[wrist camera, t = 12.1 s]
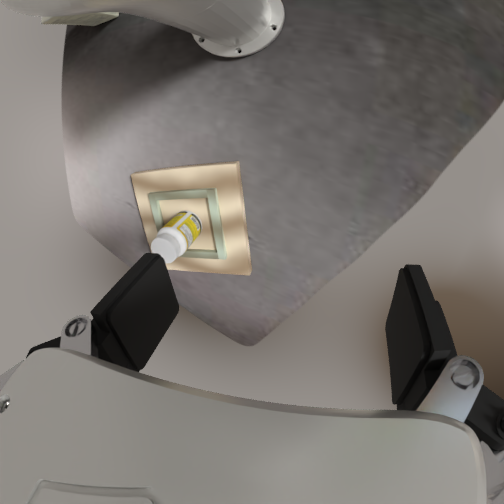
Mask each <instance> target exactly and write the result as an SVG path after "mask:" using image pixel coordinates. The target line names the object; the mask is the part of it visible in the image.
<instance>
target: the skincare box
mask: <svg viewBox="0 0 504 504" xmlns="http://www.w3.org/2000/svg"><path fill="white" fill-rule="evenodd" d="M118 16H119V12H99V13H89V14H81V15H71V16H57V17H42V20H41V24H71V25H88V26H96V25H98V24H101V23H104V22H106V21H109V20H111V19H113V18H116V17H118Z"/></svg>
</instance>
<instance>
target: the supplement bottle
mask: <svg viewBox="0 0 504 504" xmlns="http://www.w3.org/2000/svg"><path fill="white" fill-rule="evenodd" d="M201 231H202V222H201V220H200V218H199V217H198V216H197V215H196V214H195V213H193V212H191V211H186V210H185V211H181V212H179V213H178V214H177V215H176V216H174V217H173V218H172V219H171V220H170V221H169V222H168V223H167V224H166V225H165V226H164V227H162V228H161V229H160V230H159V232H158V234H157V237H156V238H155V239H154V240H153V241H152V243H151V251H152V253H158V254H160V255H161V257H163V258H164V260H165V263H172V262H173V261H174V260H175V259H176V258H177V257H179V256H181V255H183V254H184V253H185V252H186V250H187V249H188V248H189V247H190V245H191V244H192V243H193V242H194V241H195V239H196V238H197V237H198V236H199V234H200V233H201Z"/></svg>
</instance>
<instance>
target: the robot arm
mask: <svg viewBox="0 0 504 504" xmlns="http://www.w3.org/2000/svg"><path fill="white" fill-rule="evenodd" d="M0 2H1V3H2V4H3V5H5V6H6V7H7V8H8V9H11V10H13V11H15V12H17V13H21V14H25V15H30V16H39V17H57V16H71V15H81V14H89V13H99V12H121V13H127V14H133V15H137V16H141V17H145V18H149V19H152V20H155V21H158V22H161V23H164V24H167V25H170V26H173V27H176V28H179V29H181V30H184V31H187V32H189V33H192V35H193V38H194V40H195V41H196V42H197V43H198V45H199V46H201V47H202V48H203V49H204V50H206V51H208V52H210V53H212V54H215V55H218V56H222V57H230V58H236V57H244V56H248V55H252V54H254V53H256V52H259V51H261V50H262V49H264V48H265V47H267V46H268V45H269V44H271V43H272V42H273V41H274V40H275V39H276V37H277V36H278V35H279V33H280V31H281V29H282V27H283V24H284V19H285V11H284V7H283V4H282V2H281V0H0ZM273 28H277V29H276V30H273ZM204 39H205V41H204V42H203V40H204ZM239 50H241V51H242V52H241V53H239ZM178 311H179V304H178V301H177V298H176V295H175V292H174V289H173V286H172V283H171V280H170V277H169V273H168V270H167V267H166V264H165V260H164V258H163V257H161V255H160V254H158V253H146V254H144V255H143V256H142V257H141V258H140V259H139V260H138V262H137V263H136V264H135V265H134V266H133V267H132V268H131V269H130V270H129V271H128V272H127V273H126V274H125V275H124V276H123V277H122V278H121V279H120V280H119V281H118V282H117V283H116V284H115V286H114V287H113V288H112V289H111V290H110V291H109V292H108V293H107V294H106V295H105V296H104V297H103V299H102V300H101V301H100V302H99V303H98V304H97V305H96V306H95V307H94V309H93V310H92V311H91V314H92V316H93V320H92V321H91V319H90V318H89V317H88V316H85V315H80V316H76V317H74V318H72V319H71V320H69V321H68V322H67V323H66V324H65V325H64V327H63V329H62V334H61V337H58V338H55V339H53V340H50V341H48V342H45V343H42V344H40V345H38V346H35V347H33V348H31V349H30V351H29V353H28V355H27V357H26V359H25V360H23V361H21V362H20V363H18V364H17V365H15V366H14V367H12V368H11V369H9V370H8V371H6V372H5V373H4V374H2V375H1V376H0V504H504V400H503V399H501V398H500V397H499V396H498V395H496V394H495V393H494V392H492V391H491V390H489V389H488V388H487V387H485V386H484V385H483V380H484V375H483V371H482V368H481V366H480V365H479V364H478V362H477V361H475V360H474V359H473V358H471V357H468V356H463V355H460V356H457V353H456V349H455V346H454V343H453V340H452V337H451V334H450V331H449V327H448V325H447V322H446V319H445V316H444V313H443V311H442V308H441V305H440V304H439V302H438V301H435V299H434V297H433V294H432V292H431V289H430V287H429V284H428V282H427V279H426V277H425V274H424V272H423V270H422V267H421V266H420V265H405V267H404V268H401V269H400V270H399V274H398V280H397V283H396V287H395V291H394V295H393V300H392V303H391V307H390V310H389V314H388V317H387V321H386V329H385V330H386V338H387V346H388V355H389V364H390V375H391V387H392V388H391V389H392V402H393V404H397V410H356V409H335V408H319V407H307V406H296V405H286V404H279V403H271V402H264V401H257V400H251V399H245V398H239V397H234V396H229V395H224V394H219V393H214V392H209V391H205V390H201V389H196V388H192V387H188V386H184V385H180V384H177V383H173V382H169V381H166V380H162V379H159V378H155V377H152V376H148V375H145V374H142V373H139V371H140V370H141V369H143V368H144V367H145V365H146V363H147V362H148V360H149V358H150V357H151V355H152V354H153V352H154V350H155V349H156V347H157V346H158V344H159V342H160V341H161V339H162V337H163V336H164V334H165V333H166V331H167V330H168V328H169V326H170V325H171V323H172V322H173V320H174V319H175V317H176V315H177V314H178Z"/></svg>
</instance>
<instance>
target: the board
mask: <svg viewBox="0 0 504 504" xmlns="http://www.w3.org/2000/svg"><path fill="white" fill-rule="evenodd" d="M131 178H132V183H133V187H134V191H135V195H136V199H137V203H138V207H139V211H140V215H141V218H142V222H143V226H144V229H145V233H146V236H147V240H148V243H149V247H150V250H151V243H152V241H153V240H154V239H155V238H156V237H157V234H158V232H159V230H160V229H161V228H162V227H164V226H165V225H166V224H167V223H168V222H169V221H170V220H171V219H172V218H173V217H174V216H176V215H177V214H178V213H179V212H181V211H185V210H186V211H191V212H193V213H195V214H196V215H197V216H198V217H199V218H200V220H201V222H202V231H201V233H200V234H199V236H198V237H197V238H196V239H195V241H194V242H193V243H192V244H191V245H190V247H189V248H188V249H187V250H186V252H185V253H184V254H183V255H181V256H179V257H177V258H176V259H175V260H174V261H173V262H172V263H165V264H166V267H167V269H170V270H182V271H195V272H208V273H222V274H237V275H250V274H251V271H252V266H251V258H250V249H249V241H248V233H247V224H246V216H245V208H244V199H243V191H242V183H241V174H240V166H239V161H236V162H221V163H209V164H197V165H187V166H178V167H170V168H161V169H154V170H147V171H140V172H135V173H133V174H131ZM151 253H152V251H151Z"/></svg>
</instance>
